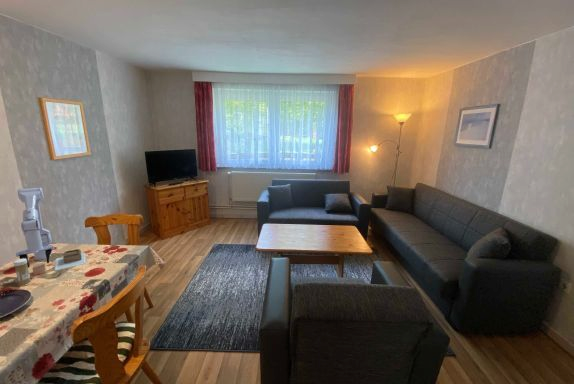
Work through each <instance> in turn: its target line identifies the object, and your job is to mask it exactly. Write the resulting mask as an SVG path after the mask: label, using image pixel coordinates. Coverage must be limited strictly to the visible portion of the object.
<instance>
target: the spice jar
mask: <svg viewBox="0 0 574 384" xmlns="http://www.w3.org/2000/svg"><path fill="white" fill-rule="evenodd" d="M13 266H14V269H15V274H16V279H17V282H18V287H26V286H28V285H30V283H31V275H30V271H29V268H28V266H27V259H20V258H19V259H15V260H14V261H13Z"/></svg>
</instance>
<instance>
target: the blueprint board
mask: <svg viewBox="0 0 574 384" xmlns="http://www.w3.org/2000/svg"><path fill="white" fill-rule="evenodd" d="M81 257H82V260H78V261H73V262H69V263H64V259H63V256H62V257H58V258H55V263H54V271H59V270H64V269H69V268H72V267H76V266H82V265H84V264H85V265H86V264H87V258H86V257H87V256H86V252H81Z"/></svg>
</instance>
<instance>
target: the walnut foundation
mask: <svg viewBox="0 0 574 384" xmlns="http://www.w3.org/2000/svg"><path fill="white" fill-rule="evenodd" d="M81 253H82V250H81V249H80V248H77V249H71V250H66V251H63V254H62V257H63V259H64V263H69V262H73V261H78V260H82V257H81Z"/></svg>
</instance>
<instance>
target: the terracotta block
mask: <svg viewBox="0 0 574 384" xmlns="http://www.w3.org/2000/svg"><path fill="white" fill-rule="evenodd" d="M46 266H47V265H46V262H42V263H40V262H39V263H36V264H33V265H32V273H33V276H35V275H40V274H44V273H46V271H47V267H46Z"/></svg>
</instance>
